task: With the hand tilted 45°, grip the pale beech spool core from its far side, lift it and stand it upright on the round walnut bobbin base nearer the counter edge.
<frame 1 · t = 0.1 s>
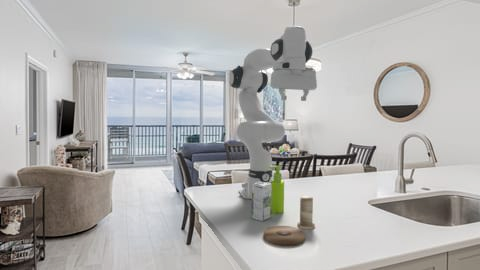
hand: (293, 100, 124), 48 cm above the counter, tool pointing down, fingers open, 8 cm apart
bobbin base: (283, 237, 104), on the counter
syrup box: (261, 218, 123), on the counter
soap dispenser: (275, 211, 132), on the counter
spool: (306, 226, 114), on the counter
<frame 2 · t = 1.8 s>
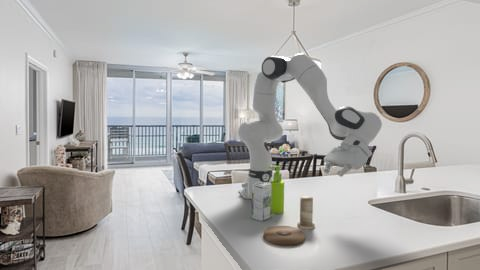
hand: (331, 173, 117), 19 cm above the counter, tool tilted 45°, fingers open, 8 cm apart
nothing on the counter moved.
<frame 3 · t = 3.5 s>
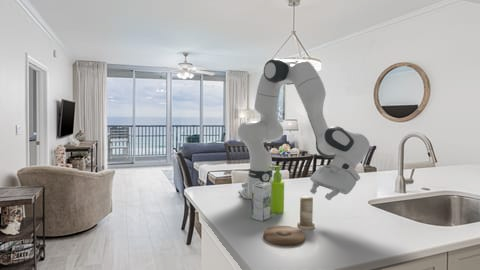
hand: (319, 195, 115), 11 cm above the counter, tool tilted 45°, fingers open, 8 cm apart
nothing on the counter moved.
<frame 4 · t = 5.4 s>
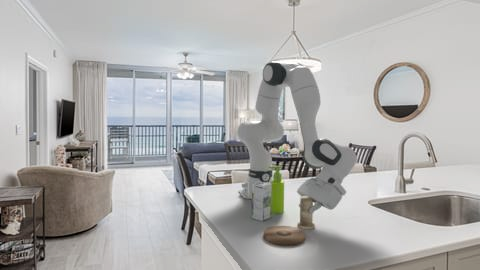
hand: (304, 209, 113), 6 cm above the counter, tool tilted 45°, fingers closed on spool, 5 cm apart
spool: (306, 226, 114), on the counter, touching gripper
everything else where it was.
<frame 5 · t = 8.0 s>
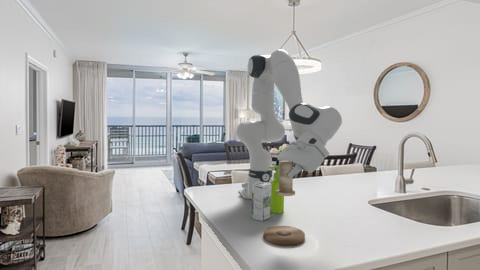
hand: (284, 175, 102), 22 cm above the counter, tool tilted 45°, fingers closed on spool, 5 cm apart
spool: (285, 193, 103), point 15 cm above the counter, touching gripper
everything else where it was.
when the fingers open (9 cm above the counter, at t = 10.8 s): spool stays where it is, resting on bobbin base.
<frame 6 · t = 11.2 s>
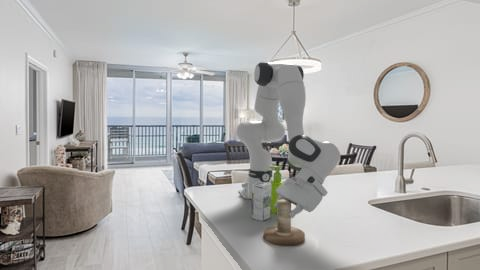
hand: (282, 212, 103), 9 cm above the counter, tool tilted 45°, fingers open, 8 cm apart
spool: (283, 232, 104), point 2 cm above the counter, touching bobbin base
everything else where it was.
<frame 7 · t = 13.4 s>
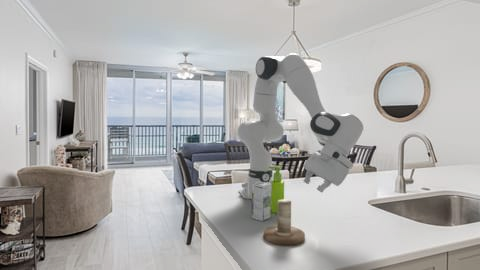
hand: (312, 186, 110), 16 cm above the counter, tool tilted 35°, fingers open, 8 cm apart
nothing on the counter moved.
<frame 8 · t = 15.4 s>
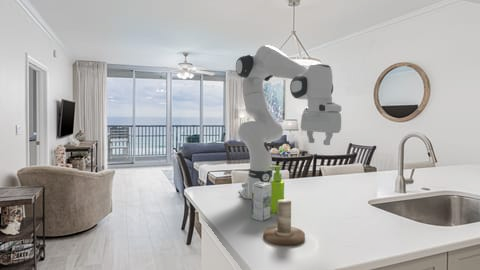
hand: (318, 143, 114), 31 cm above the counter, tool pointing down, fingers open, 8 cm apart
nothing on the counter moved.
at the end: spool inside the target area on the bobbin base (0.1 cm from its centre), point 1.5 cm above the bobbin base's base; spool tilted 0° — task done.
